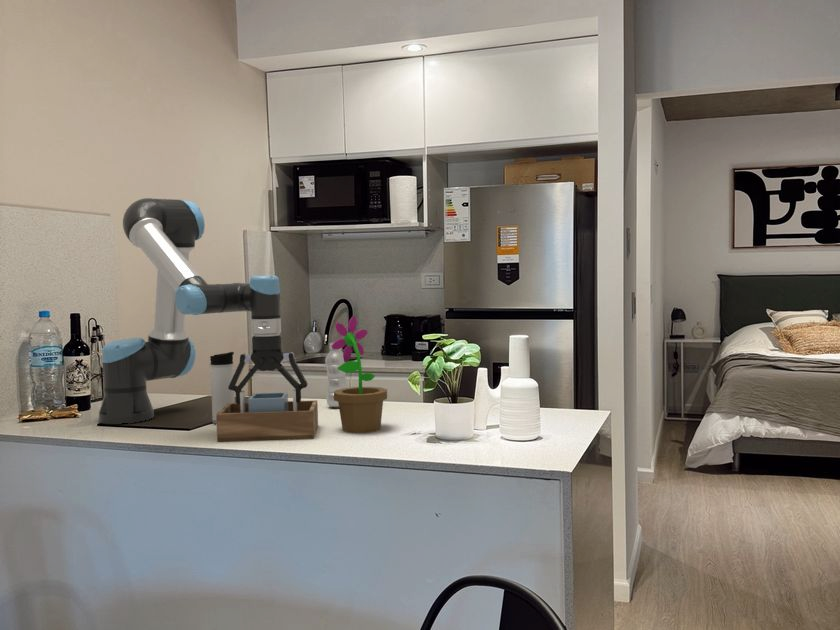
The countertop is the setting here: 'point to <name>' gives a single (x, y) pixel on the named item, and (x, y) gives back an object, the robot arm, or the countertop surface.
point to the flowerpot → (357, 402)
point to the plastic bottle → (334, 374)
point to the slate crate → (268, 402)
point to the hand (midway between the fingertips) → (269, 415)
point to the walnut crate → (267, 423)
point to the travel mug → (221, 382)
